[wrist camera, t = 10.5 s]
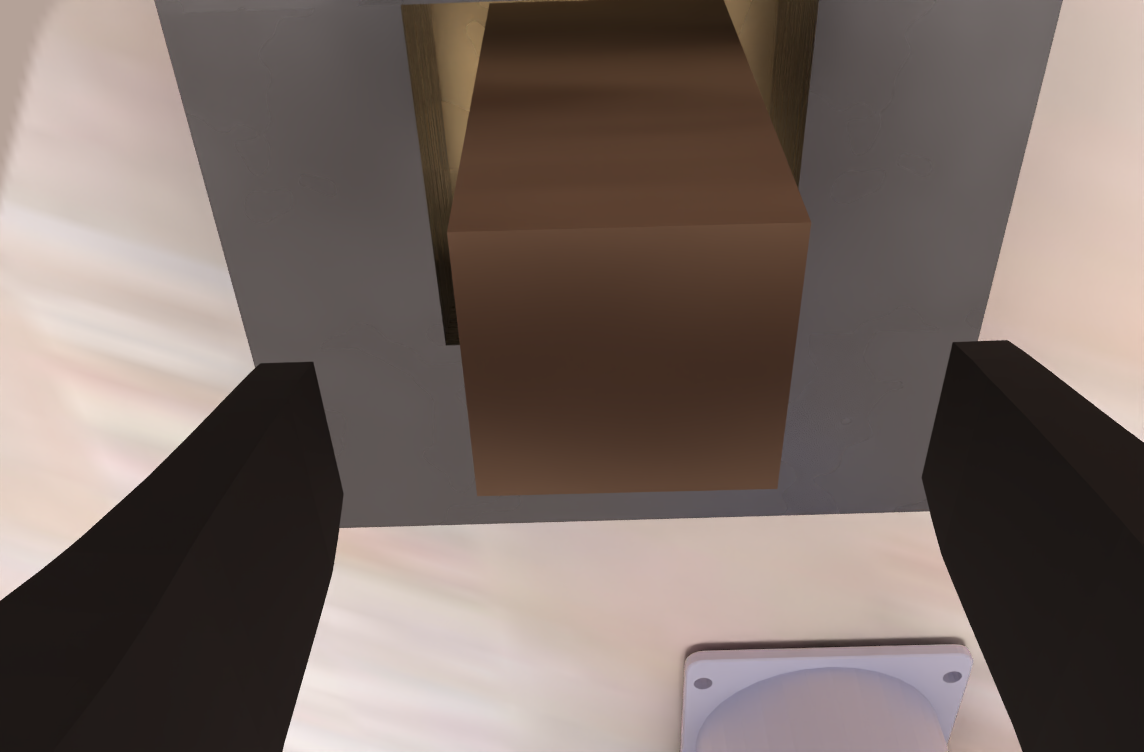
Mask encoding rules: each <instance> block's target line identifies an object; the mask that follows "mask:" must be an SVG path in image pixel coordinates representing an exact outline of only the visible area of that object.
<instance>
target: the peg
mask: <svg viewBox="0 0 1144 752" xmlns="http://www.w3.org/2000/svg"><path fill="white" fill-rule="evenodd" d="M810 229H811V220H810V218H809V215H808V213H807V210H806V207H805V205H804V202H803V200H802V197H801V195H800V192H799V190H798V187H797V185H796V182H795V180H794V177H793V175H792V172H791V169H790V167H789V164H788V162H787V159H786V157H785V154H784V152H783V149H782V147H781V144H780V142H779V139H778V136H777V134H776V131H775V129H774V126H773V124H772V121H771V119H770V116H769V114H768V111H767V109H766V106H765V104H764V101H763V98H762V96H761V93H760V91H759V88H758V86H757V83H756V81H755V78H754V76H753V73H752V71H751V68H750V65H749V63H748V60H747V58H746V55H745V53H744V50H743V48H742V45H741V43H740V40H739V38H738V35H737V32H736V30H735V27H734V25H733V22H732V20H731V17H730V15H729V12H728V10H727V7H726V5H725V2H724V0H581V1H548V2H514V3H489V8H488V13H487V19H486V24H485V30H484V35H483V40H482V46H481V51H480V57H479V62H478V67H477V73H476V78H475V84H474V89H473V94H472V100H471V105H470V111H469V116H468V122H467V127H466V132H465V138H464V143H463V149H462V154H461V159H460V165H459V170H458V176H457V181H456V186H455V192H454V197H453V203H452V208H451V213H450V219H449V224H448V230H447V237H448V245H449V254H450V263H451V272H452V280H453V289H454V298H455V307H456V315H457V324H458V333H459V342H460V350H461V359H462V368H463V376H464V385H465V394H466V403H467V411H468V420H469V429H470V438H471V446H472V455H473V464H474V473H475V481H476V490H477V496H507V495H549V494H590V493H632V492H674V491H716V490H757V489H777V488H778V480H779V473H780V465H781V457H782V449H783V441H784V433H785V425H786V418H787V410H788V402H789V394H790V386H791V378H792V371H793V363H794V355H795V347H796V339H797V331H798V323H799V316H800V308H801V300H802V292H803V284H804V276H805V269H806V261H807V253H808V245H809V237H810Z"/></svg>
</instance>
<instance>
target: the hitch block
mask: <svg viewBox="0 0 1144 752" xmlns="http://www.w3.org/2000/svg"><path fill="white" fill-rule="evenodd" d="M154 1H155V4H156V8H157V12H158V15H159V19H160V23H161V26H162V30H163V33H164V37H165V41H166V44H167V48H168V52H169V55H170V59H171V63H172V66H173V70H174V74H175V77H176V81H177V84H178V88H179V92H180V95H181V99H182V103H183V106H184V110H185V114H186V117H187V121H188V124H189V128H190V132H191V135H192V139H193V143H194V146H195V150H196V154H197V157H198V161H199V165H200V168H201V172H202V175H203V179H204V183H205V186H206V190H207V194H208V197H209V201H210V205H211V208H212V212H213V216H214V219H215V223H216V226H217V230H218V234H219V237H220V241H221V245H222V248H223V252H224V256H225V259H226V263H227V267H228V270H229V274H230V277H231V281H232V285H233V288H234V292H235V296H236V299H237V303H238V307H239V310H240V314H241V318H242V321H243V325H244V328H245V332H246V336H247V339H248V343H249V347H250V350H251V354H252V358H253V361H254V365H255V368H256V367H257V366H258V365H259V364H260V363H283V362H314V367H315V371H316V376H317V380H318V384H319V389H320V393H321V397H322V402H323V406H324V410H325V415H326V419H327V423H328V428H329V432H330V436H331V441H332V445H333V449H334V454H335V458H336V462H337V467H338V471H339V475H340V480H341V484H342V489H343V493H344V496H343V504H342V511H341V519H340V526H339V528H356V527H392V526H427V525H462V524H497V523H533V522H568V521H603V520H638V519H674V518H709V517H744V516H779V515H815V514H850V513H885V512H920V511H930V510H929V506H928V502H927V498H926V494H925V490H924V486H923V482H922V478H921V477H922V473H923V469H924V464H925V460H926V456H927V451H928V447H929V443H930V438H931V434H932V430H933V425H934V421H935V417H936V412H937V408H938V404H939V399H940V395H941V391H942V386H943V382H944V378H945V373H946V369H947V365H948V360H949V356H950V352H951V347H952V343H953V342H970V341H978V338H979V334H980V330H981V326H982V322H983V318H984V314H985V310H986V306H987V302H988V298H989V294H990V290H991V286H992V282H993V278H994V274H995V270H996V266H997V262H998V258H999V254H1000V250H1001V246H1002V242H1003V237H1004V233H1005V229H1006V225H1007V221H1008V217H1009V213H1010V209H1011V205H1012V201H1013V197H1014V193H1015V189H1016V185H1017V181H1018V177H1019V173H1020V169H1021V165H1022V161H1023V157H1024V153H1025V149H1026V145H1027V141H1028V137H1029V133H1030V129H1031V125H1032V121H1033V117H1034V113H1035V109H1036V105H1037V101H1038V97H1039V93H1040V89H1041V85H1042V81H1043V77H1044V73H1045V69H1046V65H1047V61H1048V57H1049V53H1050V49H1051V45H1052V41H1053V37H1054V33H1055V29H1056V25H1057V21H1058V17H1059V13H1060V9H1061V5H1062V1H1063V0H724V2H725V5H726V7H727V10H728V12H729V15H730V17H731V20H732V22H733V25H734V27H735V30H736V32H737V35H738V38H739V40H740V43H741V45H742V48H743V50H744V53H745V55H746V58H747V60H748V63H749V65H750V68H751V71H752V73H753V76H754V78H755V81H756V83H757V86H758V88H759V91H760V93H761V96H762V98H763V101H764V104H765V106H766V109H767V111H768V114H769V116H770V119H771V121H772V124H773V126H774V129H775V131H776V134H777V136H778V139H779V142H780V144H781V147H782V149H783V152H784V154H785V157H786V159H787V162H788V164H789V167H790V169H791V172H792V175H793V177H794V180H795V182H796V185H797V187H798V190H799V192H800V195H801V197H802V200H803V202H804V205H805V207H806V210H807V213H808V215H809V218H810V220H811V229H810V237H809V245H808V253H807V261H806V269H805V276H804V284H803V292H802V300H801V308H800V316H799V323H798V331H797V339H796V347H795V355H794V363H793V371H792V378H791V386H790V394H789V402H788V410H787V418H786V425H785V433H784V441H783V449H782V457H781V465H780V473H779V480H778V488H777V489H757V490H716V491H674V492H632V493H590V494H549V495H507V496H477V490H476V481H475V473H474V464H473V455H472V446H471V438H470V429H469V420H468V411H467V403H466V394H465V385H464V376H463V368H462V359H461V350H460V342H459V333H458V324H457V315H456V307H455V298H454V289H453V280H452V272H451V263H450V254H449V245H448V237H447V230H448V224H449V219H450V213H451V208H452V203H453V197H454V192H455V186H456V181H457V176H458V170H459V165H460V159H461V154H462V149H463V143H464V138H465V132H466V127H467V122H468V116H469V111H470V105H471V100H472V94H473V89H474V84H475V78H476V73H477V67H478V62H479V57H480V51H481V46H482V40H483V35H484V30H485V24H486V19H487V13H488V8H489V3H514V2H548V1H581V0H154Z"/></svg>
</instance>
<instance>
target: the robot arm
mask: <svg viewBox="0 0 1144 752" xmlns="http://www.w3.org/2000/svg"><path fill="white" fill-rule="evenodd" d="M921 478H922V482H923V486H924V490H925V494H926V498H927V502H928V506H929V510H930V514H931V518H932V522H933V526H934V529H935V533H936V536H937V540H938V544H939V547H940V551H941V554H942V557H943V560H944V562H945V565H946V567H947V570H948V572H949V575H950V577H951V579H952V582H953V584H954V587H955V589H956V591H957V594H958V596H959V599H960V601H961V604H962V606H963V608H964V611H965V613H966V616H967V618H968V620H969V623H970V625H971V627H972V630H973V632H974V635H975V637H976V639H977V642H978V644H979V646H980V649H981V651H982V653H983V656H984V658H985V660H986V663H987V665H988V668H989V670H990V672H991V675H992V677H993V679H994V682H995V684H996V686H997V689H998V691H999V694H1000V696H1001V698H1002V701H1003V703H1004V705H1005V708H1006V710H1007V712H1008V715H1009V717H1010V720H1011V722H1012V724H1013V727H1014V729H1015V732H1016V735H1017V738H1018V740H1019V743H1020V746H1021V748H1022V751H1023V752H1144V442H1142V441H1141V440H1140V439H1138V438H1137V437H1135V436H1134V435H1133V434H1131V433H1130V432H1129V431H1127V430H1126V429H1125V428H1123V427H1122V426H1121V425H1119V424H1118V423H1117V422H1115V421H1114V420H1113V419H1112V418H1110V417H1109V416H1108V415H1106V414H1105V413H1104V412H1102V411H1101V410H1100V409H1098V408H1097V407H1096V406H1095V405H1093V404H1092V403H1091V402H1089V401H1088V400H1087V399H1085V398H1084V397H1083V396H1082V395H1080V394H1079V393H1078V392H1076V391H1075V390H1074V389H1072V388H1071V387H1070V386H1069V385H1067V384H1066V383H1065V382H1063V381H1062V380H1061V379H1060V378H1058V377H1057V376H1056V375H1054V374H1053V373H1052V372H1050V371H1049V370H1048V369H1047V368H1045V367H1044V366H1043V365H1041V364H1040V363H1039V362H1037V361H1036V360H1035V359H1033V358H1032V357H1031V356H1029V355H1028V354H1027V353H1025V352H1024V351H1022V350H1021V349H1020V348H1018V347H1017V346H1015V345H1014V344H1012V343H1011V342H1009V341H1008V340H1002V341H970V342H953V343H952V347H951V352H950V356H949V360H948V365H947V369H946V373H945V378H944V382H943V386H942V391H941V395H940V399H939V404H938V408H937V412H936V417H935V421H934V425H933V430H932V434H931V438H930V443H929V447H928V451H927V456H926V460H925V464H924V469H923V473H922V477H921ZM343 496H344V493H343V489H342V484H341V480H340V475H339V471H338V467H337V462H336V458H335V454H334V449H333V445H332V441H331V436H330V432H329V428H328V423H327V419H326V415H325V410H324V406H323V402H322V397H321V393H320V389H319V384H318V380H317V376H316V371H315V367H314V362H283V363H260V364H259V365H258V366H257V367H256V368H255V369H254V370H253V371H252V372H251V373H250V374H249V375H248V376H247V377H246V378H245V379H244V380H243V381H242V382H241V383H240V384H239V385H238V386H237V387H236V388H235V389H234V390H233V391H232V392H231V393H230V394H229V395H228V396H227V397H226V398H225V399H224V400H223V401H222V402H221V403H220V404H219V405H218V406H217V407H216V409H215V410H214V411H213V412H212V413H211V414H210V415H209V416H208V417H207V418H206V419H205V420H204V421H203V422H202V423H201V424H200V425H199V426H198V427H197V428H196V429H195V430H194V431H193V432H192V433H191V434H190V435H189V436H188V437H187V438H186V439H185V440H184V441H183V442H182V443H181V444H180V445H179V446H178V447H177V448H176V449H175V450H174V451H173V452H172V453H171V454H170V455H169V456H168V457H167V458H166V459H165V460H164V461H163V462H162V463H161V464H160V465H159V466H158V467H157V468H156V469H155V470H154V471H153V472H152V473H151V474H150V475H149V476H148V477H147V478H146V479H145V480H144V481H143V482H142V483H140V484H139V485H138V486H137V487H136V488H135V489H134V490H133V491H132V492H131V493H129V494H128V495H127V496H126V497H125V498H124V499H123V500H122V501H121V502H119V503H118V504H117V505H116V506H115V507H114V508H113V509H112V510H111V511H109V512H108V513H107V514H106V515H105V516H104V517H103V518H102V519H101V520H100V521H98V522H97V523H96V524H95V525H94V526H93V527H92V528H91V529H90V530H88V531H87V532H86V533H85V534H84V535H83V536H82V537H81V538H79V539H78V540H77V541H76V542H75V543H74V544H72V545H71V546H70V547H69V548H68V549H66V550H65V551H64V552H63V553H61V554H60V555H59V556H58V557H57V558H55V559H54V560H53V561H52V562H50V563H49V564H48V565H47V566H45V567H44V568H43V569H42V570H40V571H39V572H38V573H36V574H35V575H34V576H32V577H31V578H30V579H28V580H27V581H26V582H24V583H23V584H22V585H21V586H19V587H18V588H17V589H15V590H14V591H13V592H11V593H10V594H9V595H7V596H6V597H5V598H3V599H2V600H1V601H0V752H282V751H283V747H284V742H285V739H286V735H287V732H288V728H289V725H290V721H291V718H292V714H293V711H294V707H295V704H296V700H297V697H298V693H299V690H300V686H301V683H302V679H303V676H304V672H305V669H306V665H307V662H308V659H309V655H310V652H311V648H312V645H313V641H314V638H315V634H316V630H317V627H318V623H319V620H320V616H321V613H322V609H323V605H324V602H325V598H326V595H327V591H328V587H329V583H330V580H331V576H332V572H333V566H334V560H335V554H336V547H337V541H338V534H339V526H340V519H341V511H342V504H343ZM972 666H973V658H972V655H971V653H970V651H969V649H968V648H967V647H965V646H963V645H959V644H938V645H900V646H862V647H824V648H786V649H748V650H710V651H698V652H695V653H693V654H691V655H690V656H688V657H687V658H686V661H685V669H684V688H683V708H682V727H681V747H680V752H949V751H948V748H947V744H948V741H949V738H950V735H951V732H952V729H953V726H954V722H955V719H956V716H957V713H958V710H959V707H960V704H961V701H962V697H963V694H964V691H965V688H966V685H967V682H968V679H969V676H970V673H971V669H972Z"/></svg>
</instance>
